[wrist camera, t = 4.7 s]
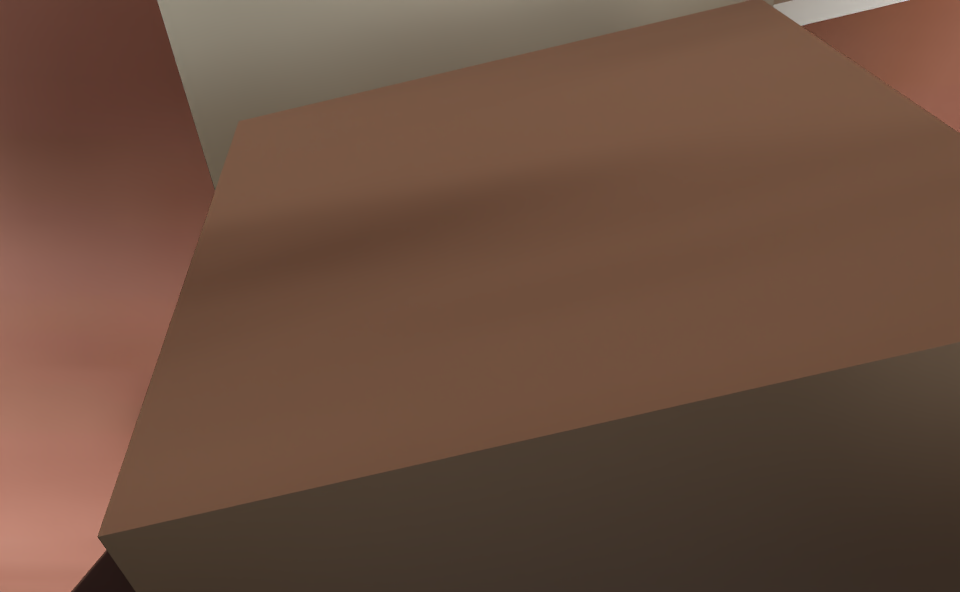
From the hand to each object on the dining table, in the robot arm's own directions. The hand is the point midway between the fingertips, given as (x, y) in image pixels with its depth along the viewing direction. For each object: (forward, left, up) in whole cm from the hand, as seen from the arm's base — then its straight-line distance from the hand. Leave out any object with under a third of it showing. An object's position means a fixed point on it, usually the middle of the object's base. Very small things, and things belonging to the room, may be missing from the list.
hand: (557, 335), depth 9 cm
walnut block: (0, 0, -1) cm, 1 cm away
